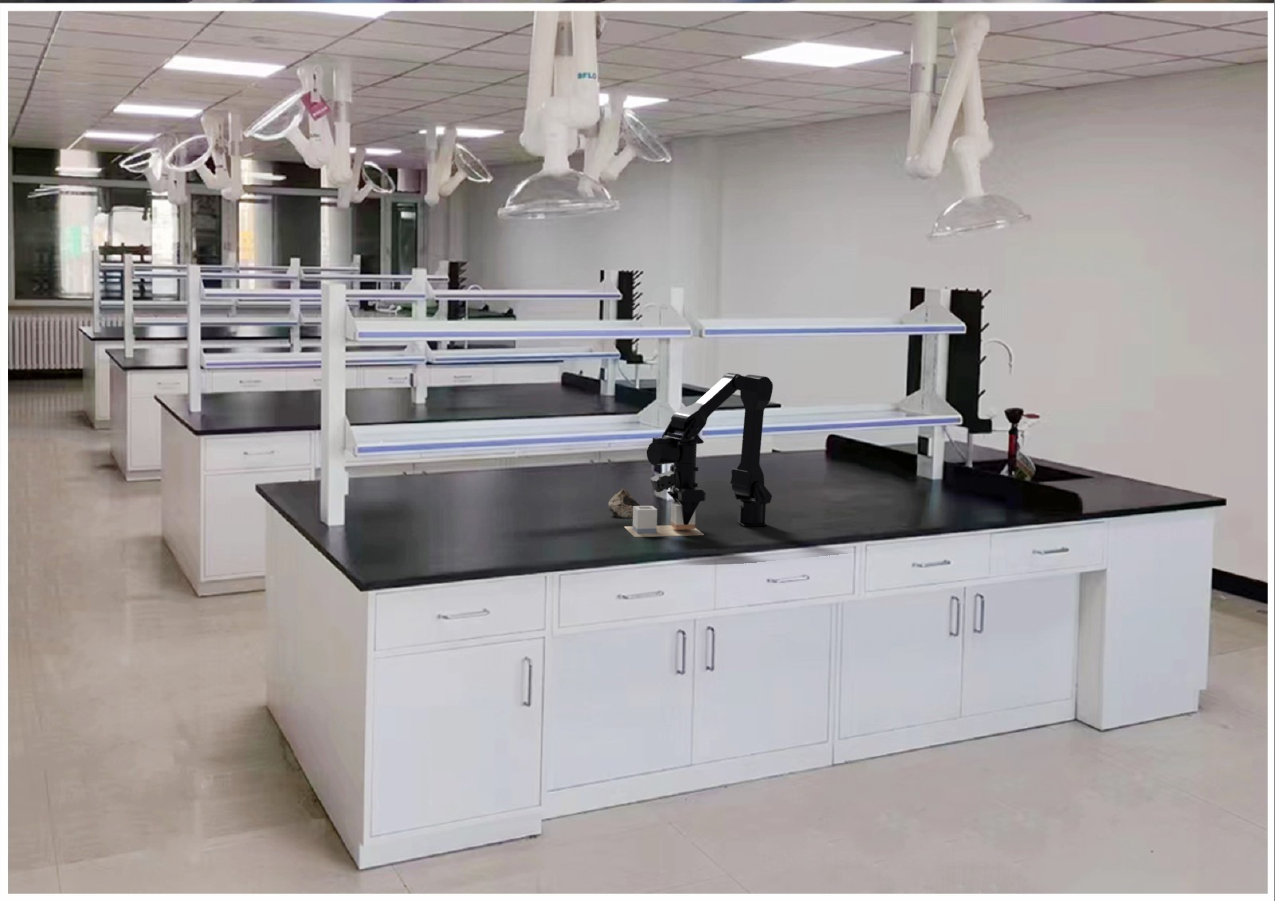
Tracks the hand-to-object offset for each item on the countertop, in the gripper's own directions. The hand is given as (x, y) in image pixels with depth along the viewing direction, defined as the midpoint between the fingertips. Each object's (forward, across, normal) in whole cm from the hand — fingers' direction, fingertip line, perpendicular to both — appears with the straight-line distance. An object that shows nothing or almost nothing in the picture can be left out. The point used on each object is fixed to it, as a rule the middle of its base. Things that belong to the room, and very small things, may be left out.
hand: (683, 522), depth 324 cm
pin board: (+3, 0, -5) cm, 6 cm away
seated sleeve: (+2, 0, -10) cm, 10 cm away
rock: (+4, -20, -10) cm, 23 cm away
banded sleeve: (+1, 0, 0) cm, 1 cm away
